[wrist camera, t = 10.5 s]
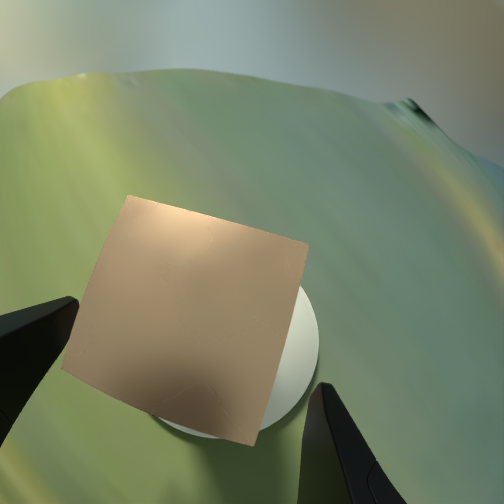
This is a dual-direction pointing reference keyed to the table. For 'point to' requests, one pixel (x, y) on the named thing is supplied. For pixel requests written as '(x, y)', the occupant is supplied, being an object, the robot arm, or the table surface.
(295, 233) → the table surface
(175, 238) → the tan tall block
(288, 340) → the cream plate
